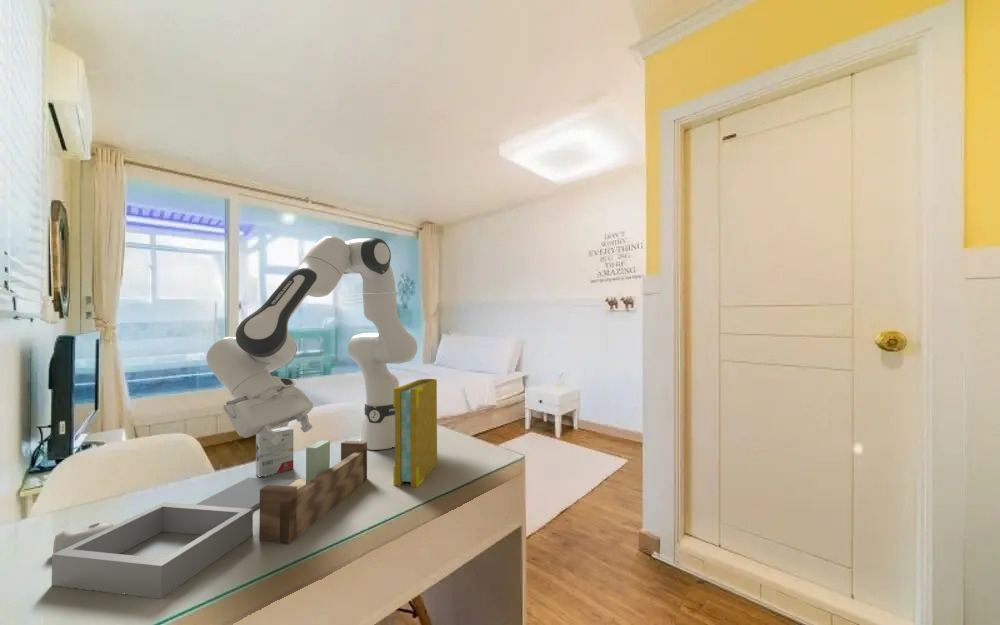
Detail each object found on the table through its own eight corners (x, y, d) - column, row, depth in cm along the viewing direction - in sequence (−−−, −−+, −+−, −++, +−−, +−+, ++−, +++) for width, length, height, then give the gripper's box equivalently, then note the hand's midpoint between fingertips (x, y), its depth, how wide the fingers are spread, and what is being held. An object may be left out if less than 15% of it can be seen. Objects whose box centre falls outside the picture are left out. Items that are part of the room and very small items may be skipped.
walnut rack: (345, 477, 98) (345, 440, 98) (367, 478, 97) (367, 441, 98) (259, 541, 69) (259, 489, 70) (289, 544, 69) (289, 491, 69)
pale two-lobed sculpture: (116, 540, 73) (113, 543, 69) (55, 556, 67) (47, 560, 64) (118, 516, 74) (115, 518, 70) (58, 531, 69) (51, 533, 65)
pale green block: (320, 499, 86) (320, 440, 87) (329, 499, 86) (329, 440, 86) (305, 509, 81) (306, 447, 82) (315, 510, 81) (316, 448, 81)
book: (417, 487, 92) (417, 389, 93) (393, 485, 93) (393, 388, 94) (441, 461, 108) (440, 379, 109) (420, 460, 110) (420, 378, 110)
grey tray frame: (163, 526, 75) (164, 502, 75) (252, 534, 72) (252, 509, 72) (51, 585, 58) (52, 554, 58) (160, 598, 55) (161, 565, 55)
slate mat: (248, 481, 96) (248, 477, 96) (295, 484, 94) (295, 480, 94) (179, 517, 79) (179, 512, 79) (235, 521, 77) (235, 517, 77)
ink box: (289, 464, 108) (289, 425, 108) (293, 469, 104) (294, 428, 105) (255, 473, 102) (255, 431, 102) (259, 478, 98) (259, 435, 99)
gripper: (228, 392, 76) (269, 441, 74) (297, 378, 96) (330, 415, 94) (210, 413, 77) (250, 461, 75) (282, 394, 97) (314, 432, 95)
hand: (295, 435), depth 85 cm, fingers open, 8 cm apart
